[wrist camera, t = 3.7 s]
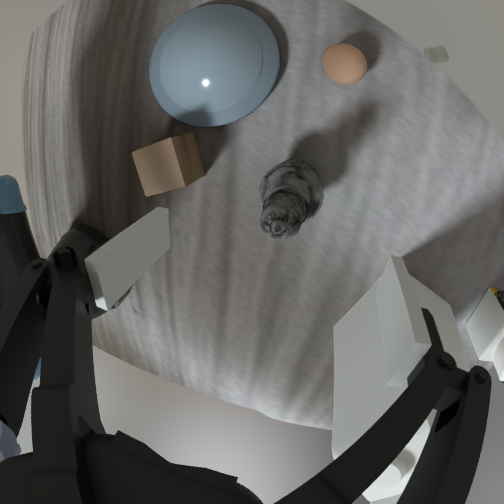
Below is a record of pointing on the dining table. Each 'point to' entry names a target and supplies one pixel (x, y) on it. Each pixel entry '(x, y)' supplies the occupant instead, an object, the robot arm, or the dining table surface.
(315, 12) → the dining table surface
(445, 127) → the dining table surface
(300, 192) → the stone chess piece
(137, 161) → the walnut block
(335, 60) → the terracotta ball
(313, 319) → the dining table surface
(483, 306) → the medicine bottle
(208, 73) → the plate
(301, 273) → the dining table surface
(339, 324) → the milk
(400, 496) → the robot arm
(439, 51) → the pale green cup
